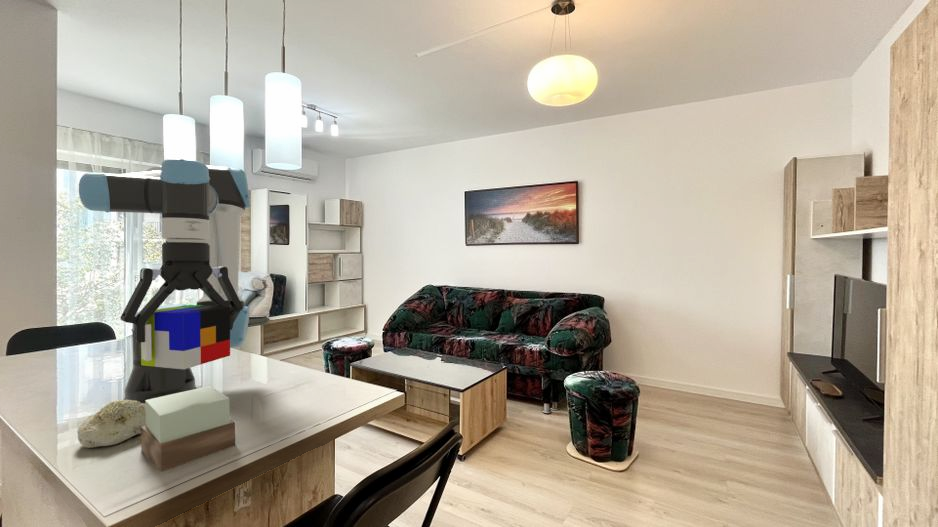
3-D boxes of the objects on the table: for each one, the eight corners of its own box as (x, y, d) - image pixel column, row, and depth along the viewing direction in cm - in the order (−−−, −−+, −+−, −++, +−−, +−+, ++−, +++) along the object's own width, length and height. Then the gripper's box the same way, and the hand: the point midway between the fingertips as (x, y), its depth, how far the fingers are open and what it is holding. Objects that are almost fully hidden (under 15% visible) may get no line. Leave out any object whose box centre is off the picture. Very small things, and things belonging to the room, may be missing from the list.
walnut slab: (141, 452, 77) (140, 426, 76) (211, 430, 86) (210, 407, 86) (161, 473, 69) (161, 445, 69) (235, 446, 79) (235, 422, 79)
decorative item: (129, 402, 90) (159, 388, 87) (135, 441, 88) (166, 428, 85) (60, 416, 78) (91, 401, 76) (65, 462, 76) (98, 447, 74)
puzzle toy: (184, 369, 71) (183, 313, 71) (141, 365, 73) (140, 311, 73) (230, 355, 81) (229, 306, 80) (190, 352, 83) (190, 304, 83)
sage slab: (145, 425, 77) (145, 400, 77) (210, 408, 85) (210, 385, 85) (160, 443, 70) (159, 415, 70) (229, 423, 78) (229, 398, 78)
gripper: (107, 239, 64) (110, 370, 65) (260, 242, 84) (260, 344, 85) (96, 239, 69) (98, 362, 69) (243, 243, 88) (244, 339, 89)
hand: (187, 352), depth 77 cm, fingers closed on puzzle toy, 12 cm apart
